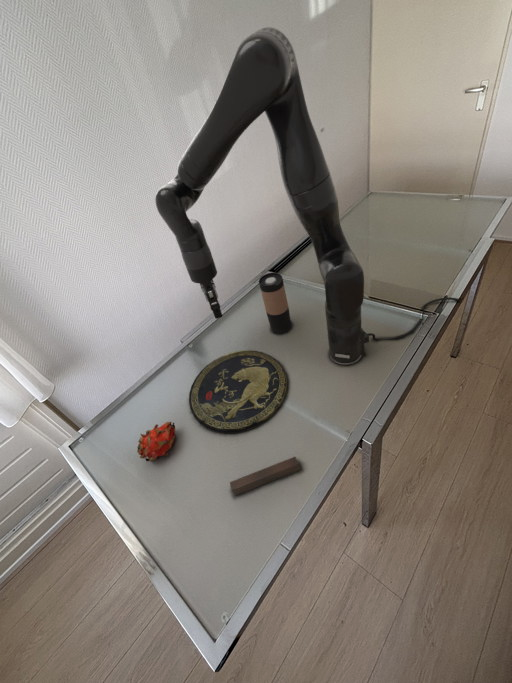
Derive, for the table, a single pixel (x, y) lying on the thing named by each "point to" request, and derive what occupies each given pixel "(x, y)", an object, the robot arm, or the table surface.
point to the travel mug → (275, 302)
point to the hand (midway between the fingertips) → (216, 309)
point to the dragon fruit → (156, 441)
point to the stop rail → (264, 476)
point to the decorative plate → (238, 391)
